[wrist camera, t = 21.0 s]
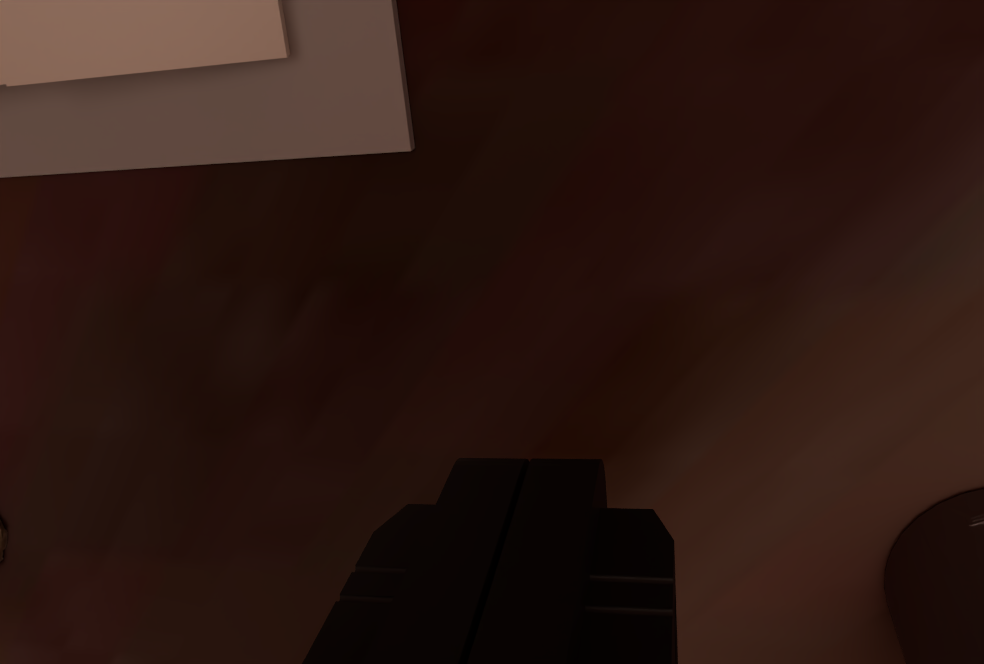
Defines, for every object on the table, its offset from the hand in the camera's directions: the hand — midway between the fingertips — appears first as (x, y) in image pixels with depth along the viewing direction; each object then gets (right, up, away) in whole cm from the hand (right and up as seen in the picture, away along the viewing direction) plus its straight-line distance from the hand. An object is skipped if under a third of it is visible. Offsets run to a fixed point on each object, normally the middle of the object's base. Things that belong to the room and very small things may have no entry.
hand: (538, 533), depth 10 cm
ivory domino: (-8, +15, +24) cm, 29 cm away
